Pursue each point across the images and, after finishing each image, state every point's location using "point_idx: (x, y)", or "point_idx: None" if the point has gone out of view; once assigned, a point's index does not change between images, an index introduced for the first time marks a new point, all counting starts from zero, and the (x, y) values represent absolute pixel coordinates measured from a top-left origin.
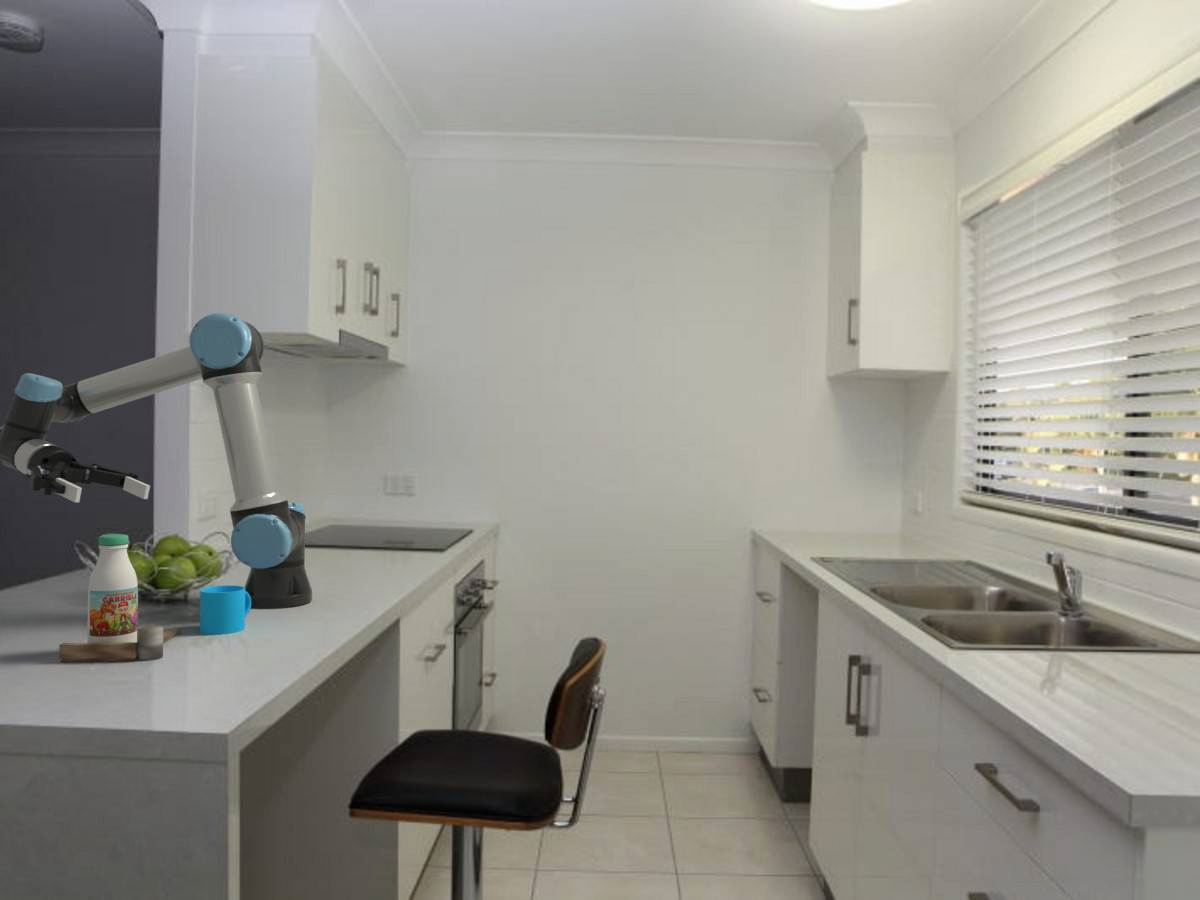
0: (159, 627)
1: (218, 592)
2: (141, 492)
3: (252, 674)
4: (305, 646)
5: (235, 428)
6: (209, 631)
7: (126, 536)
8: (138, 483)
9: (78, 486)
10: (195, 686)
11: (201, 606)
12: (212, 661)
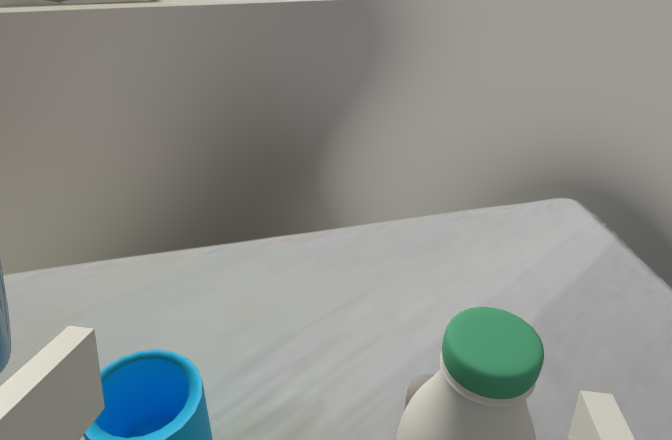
0: (414, 388)
1: (191, 377)
2: (77, 404)
3: (417, 257)
4: (259, 270)
5: None
6: None
7: (469, 309)
8: (36, 392)
9: (592, 417)
10: (496, 281)
11: None
12: (391, 329)
